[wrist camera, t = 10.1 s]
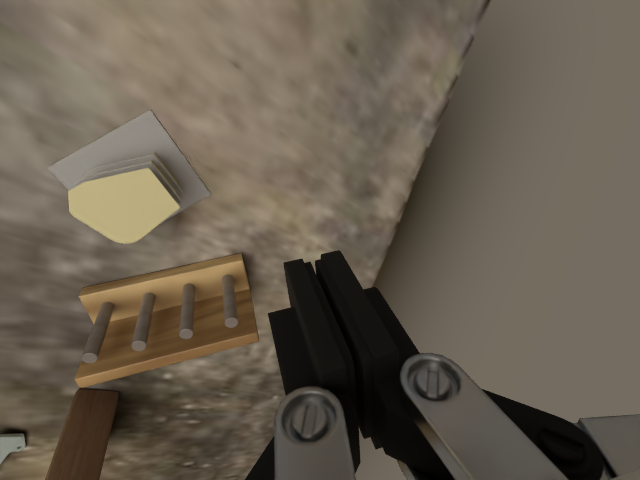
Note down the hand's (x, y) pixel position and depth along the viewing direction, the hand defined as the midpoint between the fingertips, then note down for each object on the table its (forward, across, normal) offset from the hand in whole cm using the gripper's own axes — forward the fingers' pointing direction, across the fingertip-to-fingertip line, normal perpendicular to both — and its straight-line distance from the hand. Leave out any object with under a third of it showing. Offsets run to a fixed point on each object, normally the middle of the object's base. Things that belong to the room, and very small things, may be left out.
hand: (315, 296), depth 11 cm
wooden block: (+26, +25, +32) cm, 49 cm away
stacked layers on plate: (+27, +10, +5) cm, 29 cm away
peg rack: (+26, +11, +17) cm, 33 cm away
